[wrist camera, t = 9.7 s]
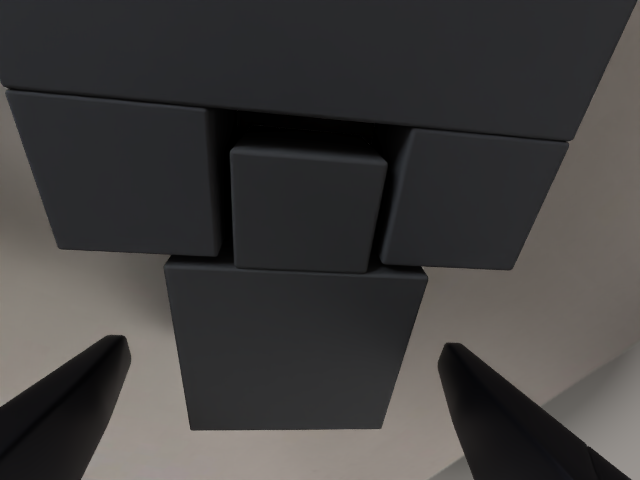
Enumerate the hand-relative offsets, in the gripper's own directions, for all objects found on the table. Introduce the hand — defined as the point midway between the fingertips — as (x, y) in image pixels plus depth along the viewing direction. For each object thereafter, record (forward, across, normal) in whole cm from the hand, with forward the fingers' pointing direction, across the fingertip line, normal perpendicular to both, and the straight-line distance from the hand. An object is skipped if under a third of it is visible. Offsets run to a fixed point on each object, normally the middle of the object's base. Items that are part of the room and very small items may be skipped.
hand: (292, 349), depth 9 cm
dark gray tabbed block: (+2, 0, -1) cm, 3 cm away
